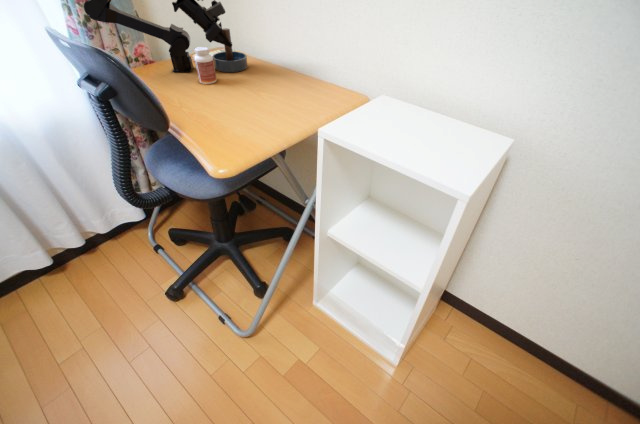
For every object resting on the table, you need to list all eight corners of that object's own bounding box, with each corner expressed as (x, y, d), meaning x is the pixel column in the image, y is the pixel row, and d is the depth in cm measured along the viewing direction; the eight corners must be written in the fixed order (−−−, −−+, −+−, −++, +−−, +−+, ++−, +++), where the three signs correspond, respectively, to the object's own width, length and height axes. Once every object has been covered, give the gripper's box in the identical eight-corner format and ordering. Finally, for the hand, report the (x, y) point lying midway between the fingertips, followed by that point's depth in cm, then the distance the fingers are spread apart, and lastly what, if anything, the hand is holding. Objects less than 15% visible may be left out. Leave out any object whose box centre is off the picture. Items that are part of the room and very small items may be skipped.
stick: (230, 64, 123) (225, 30, 115) (225, 63, 124) (220, 29, 116) (235, 62, 125) (231, 29, 117) (230, 61, 126) (225, 28, 118)
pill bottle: (220, 81, 114) (214, 48, 107) (206, 85, 110) (200, 52, 103) (209, 77, 117) (203, 45, 109) (195, 81, 113) (188, 48, 105)
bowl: (211, 72, 120) (209, 60, 117) (217, 62, 130) (215, 50, 127) (245, 73, 121) (244, 61, 118) (249, 63, 131) (248, 51, 128)
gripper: (209, -4, 101) (246, 34, 111) (208, -12, 114) (242, 22, 124) (189, 24, 105) (227, 58, 114) (191, 13, 118) (225, 44, 128)
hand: (231, 45), depth 120 cm, fingers closed on stick, 3 cm apart
